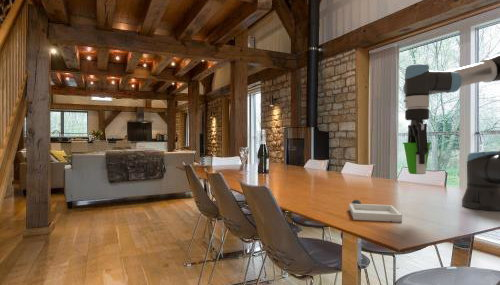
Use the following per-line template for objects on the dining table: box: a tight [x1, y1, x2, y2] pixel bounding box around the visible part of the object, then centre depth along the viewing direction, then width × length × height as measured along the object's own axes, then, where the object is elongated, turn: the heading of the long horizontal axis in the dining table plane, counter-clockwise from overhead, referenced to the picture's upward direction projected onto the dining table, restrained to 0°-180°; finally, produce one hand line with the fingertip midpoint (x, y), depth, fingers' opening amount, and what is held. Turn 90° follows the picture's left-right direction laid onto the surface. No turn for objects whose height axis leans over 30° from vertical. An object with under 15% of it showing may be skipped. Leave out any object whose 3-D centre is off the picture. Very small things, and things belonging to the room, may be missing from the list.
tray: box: [348, 203, 403, 223], centre depth 121 cm, size 16×16×2 cm
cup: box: [402, 141, 432, 175], centre depth 116 cm, size 9×9×11 cm
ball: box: [351, 199, 362, 204], centre depth 133 cm, size 4×4×4 cm
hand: (416, 172), depth 116 cm, fingers closed on cup, 9 cm apart
